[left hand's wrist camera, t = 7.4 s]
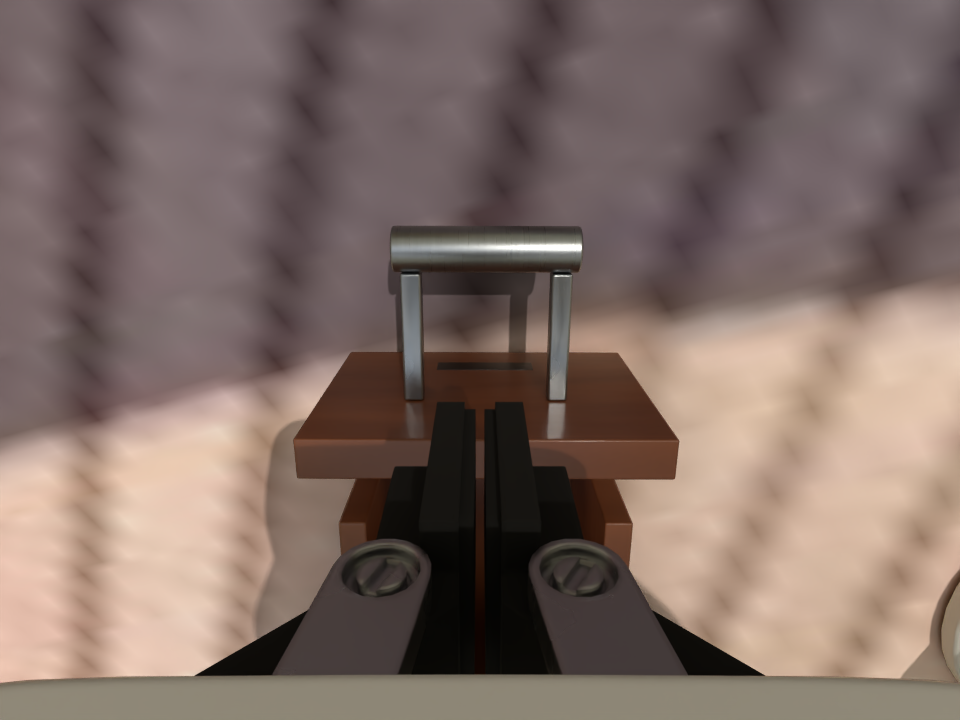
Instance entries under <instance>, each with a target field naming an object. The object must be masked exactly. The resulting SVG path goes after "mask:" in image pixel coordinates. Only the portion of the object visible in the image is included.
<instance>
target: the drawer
mask: <svg viewBox="0 0 960 720" xmlns="http://www.w3.org/2000/svg"><path fill="white" fill-rule="evenodd" d="M582 258H583V234H582V230H581V227H579V226H393V227H392V229H391V234H390V259H391V266H392V270H393V271H394V272H402V273H401V274H400V295H401V322H402V349H403V352H351V353H350V354H349V356H348V357H347V359H346V361H345V362H344V364H343V365H342V367H341V368H340V370H339V371H338V373H337V374H336V376H335V377H334V379H333V380H332V382H331V383H330V385H329V386H328V388H327V389H326V391H325V392H324V394H323V395H322V397H321V398H320V400H319V402H318V403H317V405H316V406H315V408H314V409H313V411H312V412H311V414H310V415H309V417H308V418H307V420H306V421H305V423H304V424H303V426H302V427H301V429H300V430H299V432H298V433H297V435H296V436H295V438H294V440H293V441H294V452H295V462H296V472H297V478H299V479H356V480H355V483H354V485H353V488H352V490H351V493H350V496H349V498H348V501H347V503H346V506H345V509H344V511H343V514H342V516H341V519H340V522H339V534H340V547H341V555H342V554H344V553H345V552H347V551H348V550H349V549H351V548H352V547H354V546H357V545H359V544H362V543H364V542H367V541H373V540H376V538H377V534H378V530H379V526H380V522H381V518H382V514H383V510H384V506H385V502H386V498H387V494H388V490H389V486H390V482H391V478H392V474H393V470H394V467H395V466H427V465H428V458H429V451H430V445H431V438H432V432H433V425H434V419H435V412H436V406H437V402H465V409H476V582H475V675H485V582H484V409H495V402H523V406H524V412H525V419H526V425H527V432H528V438H529V445H530V451H531V458H532V465H533V466H565V467H566V470H567V474H568V478H569V482H570V486H571V490H572V494H573V498H574V502H575V506H576V510H577V514H578V518H579V522H580V526H581V530H582V534H583V538H584V540H587V541H593V542H596V543H598V544H601V545H603V546H606V547H608V548H609V549H611V550H612V551H613V552H615V553H616V554H618V555H619V556H620V557H621V559H622V560H623V561H624V562H625V564H626V565H627V567H628V568H629V561H630V550H631V539H632V528H633V523H632V521H631V518H630V516H629V514H628V511H627V509H626V506H625V504H624V501H623V499H622V497H621V494H620V492H619V489H618V487H617V485H616V482H615V480H614V479H675V474H676V465H677V456H678V447H679V440H678V438H677V437H676V435H675V434H674V432H673V431H672V430H671V428H670V427H669V425H668V424H667V422H666V421H665V420H664V418H663V417H662V415H661V414H660V412H659V411H658V410H657V408H656V407H655V405H654V404H653V402H652V401H651V400H650V398H649V397H648V395H647V394H646V392H645V391H644V390H643V388H642V387H641V385H640V384H639V382H638V381H637V380H636V378H635V377H634V375H633V374H632V372H631V371H630V370H629V368H628V367H627V365H626V364H625V362H624V361H623V360H622V358H621V357H620V355H619V354H618V353H569V341H570V320H571V300H572V279H573V276H572V274H571V273H578V272H579V271H580V269H581V265H582ZM422 272H499V273H550V293H549V320H548V347H547V353H492V352H424V335H423V296H422Z"/></svg>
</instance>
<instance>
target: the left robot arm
mask: <svg viewBox="0 0 960 720" xmlns="http://www.w3.org/2000/svg"><path fill="white" fill-rule="evenodd" d="M475 582H476V409H465V402H437V406H436V412H435V419H434V425H433V432H432V438H431V445H430V451H429V458H428V465H427V466H395V467H394V470H393V474H392V478H391V482H390V486H389V490H388V494H387V498H386V502H385V506H384V510H383V514H382V518H381V522H380V526H379V530H378V534H377V538H376V540H373V541H367V542H364V543H362V544H359V545H357V546H354V547H352V548H351V549H349V550H348V551H347V552H345V553H344V554H342V555H341V556H340V557H339V559H338V560H337V561H336V562H335V564H334V565H333V567H332V568H331V570H330V572H329V574H328V576H327V577H326V579H325V581H324V583H323V585H322V586H321V588H320V590H319V592H318V593H317V595H316V597H315V599H314V601H313V602H312V604H311V606H310V608H309V610H307V611H306V612H304V613H302V614H300V615H299V616H297V617H295V618H293V619H292V620H290V621H288V622H287V623H285V624H283V625H281V626H280V627H278V628H276V629H274V630H273V631H271V632H269V633H268V634H266V635H264V636H262V637H261V638H259V639H257V640H255V641H254V642H252V643H250V644H249V645H247V646H245V647H243V648H242V649H240V650H238V651H236V652H235V653H233V654H231V655H230V656H228V657H226V658H224V659H223V660H221V661H219V662H217V663H216V664H214V665H212V666H211V667H209V668H207V669H205V670H204V671H202V672H200V673H198V674H197V675H195V676H136V677H97V678H70V679H43V680H24V681H14V682H5V683H0V720H960V582H959V584H958V585H957V587H956V589H955V591H954V593H953V595H952V597H951V599H950V601H949V603H948V605H947V608H946V611H945V615H944V620H943V624H942V628H941V636H942V650H943V654H944V657H945V660H946V664H947V666H948V668H949V669H950V671H951V672H952V674H953V675H954V677H955V678H956V680H957V681H958V682H959V683H955V682H946V681H936V680H917V679H890V678H863V677H828V676H765V675H763V674H762V673H760V672H758V671H756V670H755V669H753V668H751V667H749V666H748V665H746V664H744V663H743V662H741V661H739V660H737V659H736V658H734V657H732V656H730V655H729V654H727V653H725V652H724V651H722V650H720V649H718V648H717V647H715V646H713V645H711V644H710V643H708V642H706V641H705V640H703V639H701V638H699V637H698V636H696V635H694V634H692V633H691V632H689V631H687V630H686V629H684V628H682V627H680V626H679V625H677V624H675V623H673V622H672V621H670V620H668V619H667V618H665V617H663V616H661V615H660V614H658V613H656V612H654V611H653V610H651V608H650V606H649V604H648V602H647V601H646V599H645V597H644V595H643V593H642V592H641V590H640V588H639V586H638V585H637V583H636V581H635V579H634V577H633V576H632V574H631V572H630V570H629V568H628V567H627V565H626V564H625V562H624V561H623V560H622V559H621V557H620V556H619V555H618V554H616V553H615V552H613V551H612V550H611V549H609V548H608V547H606V546H603V545H601V544H598V543H596V542H593V541H587V540H584V538H583V534H582V530H581V526H580V522H579V518H578V514H577V510H576V506H575V502H574V498H573V494H572V490H571V486H570V482H569V478H568V474H567V470H566V467H565V466H533V465H532V458H531V451H530V445H529V438H528V432H527V425H526V419H525V412H524V406H523V402H495V409H484V582H485V675H475Z"/></svg>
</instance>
